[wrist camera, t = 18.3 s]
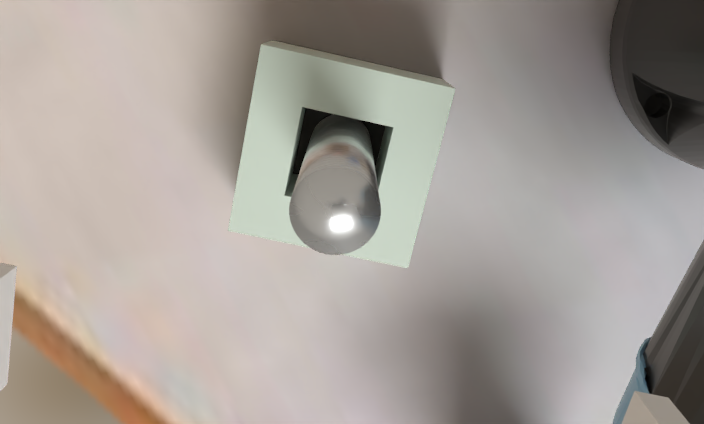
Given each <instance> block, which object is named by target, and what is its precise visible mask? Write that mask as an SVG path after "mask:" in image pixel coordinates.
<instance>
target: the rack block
mask: <svg viewBox="0 0 704 424" xmlns="http://www.w3.org/2000/svg"><path fill="white" fill-rule="evenodd" d="M455 89H456V88H454V87H453V86H451V85H450V84H449V83H447V82H446V81H445V80H443V79H440V78H436V77H432V76H427V75H423V74H418V73H414V72H410V71H405V70H401V69H397V68H392V67H388V66H383V65H379V64H375V63H370V62H366V61H362V60H357V59H353V58H348V57H344V56H340V55H335V54H331V53H327V52H322V51H318V50H313V49H309V48H305V47H300V46H296V45H292V44H287V43H283V42H278V41H274V40H272V41H269V42H266V43H263V44H261V47H260V53H259V58H258V64H257V69H256V75H255V81H254V86H253V92H252V98H251V103H250V109H249V115H248V120H247V126H246V132H245V137H244V143H243V149H242V154H241V160H240V165H239V171H238V177H237V182H236V188H235V194H234V199H233V205H232V211H231V216H230V222H229V228H228V231H231V232H236V233H241V234H246V235H250V236H255V237H260V238H265V239H269V240H274V241H279V242H284V243H289V244H293V245H298V246H303V247H308V246H307V245H306V244H304V243H303V242H302V241H301V240H300V238H299V237H298V236H297V235H296V233H295V231H294V229H293V227H292V225H291V221H290V216H289V205H290V200H291V196H292V193H293V190H294V187H295V184H296V181H297V178H298V175H297V174H293V169H294V164H295V159H296V154H297V149H298V144H299V139H300V134H301V129H302V124H303V120H304V115H305V110H306V108H309V109H313V110H318V111H322V112H327V113H331V114H336V115H340V116H345V117H349V118H354V119H358V120H363V121H367V122H372V123H376V124H381V125H385V130H384V134H383V138H382V143H381V147H380V151H379V155H378V159H377V163H376V168H375V172H376V178H377V185H378V192H379V198H380V205H381V217H380V222H379V225H378V228H377V230H376V232H375V234H374V235H373V237H372V238H371V239H370V240H369V241H368V242H367V243H366V244H365V245H364V246H362V247H361V248H359V249H357V250H355V251H353V252H350V253H347V254H341V255H346V256H351V257H356V258H360V259H365V260H370V261H375V262H379V263H384V264H389V265H394V266H399V267H403V268H408V266H409V262H410V259H411V255H412V251H413V247H414V244H415V240H416V236H417V232H418V229H419V225H420V221H421V217H422V213H423V210H424V206H425V202H426V198H427V195H428V191H429V187H430V183H431V180H432V176H433V172H434V168H435V165H436V161H437V157H438V153H439V149H440V146H441V142H442V138H443V134H444V131H445V127H446V123H447V119H448V116H449V112H450V108H451V104H452V101H453V97H454V93H455ZM308 248H310V247H308Z"/></svg>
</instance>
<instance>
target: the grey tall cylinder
mask: <svg viewBox="0 0 704 424" xmlns="http://www.w3.org/2000/svg"><path fill="white" fill-rule="evenodd" d="M289 216H290V221H291V225H292V227H293V229H294V231H295V233H296V235H297V236H298V237H299V238H300V240H301V241H302V242H303V243H304V244H306V245H307V246H308V247H310V248H312V249H313V250H315V251H318V252H320V253H324V254H330V255H341V254H347V253H350V252H353V251H355V250H357V249H359V248H361V247H362V246H364V245H365V244H366V243H367V242H368V241H369V240H370V239H371V238H372V237H373V235H374V234H375V232H376V230H377V228H378V225H379V222H380V217H381V205H380V198H379V192H378V185H377V178H376V172H375V165H374V158H373V152H372V145H371V138H370V134H369V132H368V130H367V128H366V127H365V125H364V124H363V123H362V122H361V121H360V120H358V119H354V118H349V117H345V116H340V115H336V114H333V115H330V116H328V117H326V118H324V119H323V120H321V121H320V122H319V123H318V124H317V126H316V127H315V129H314V130H313V133H312V136H311V139H310V142H309V145H308V148H307V151H306V154H305V157H304V160H303V163H302V166H301V169H300V172H299V175H298V178H297V181H296V184H295V187H294V190H293V193H292V196H291V200H290V205H289Z"/></svg>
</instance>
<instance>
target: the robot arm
mask: <svg viewBox="0 0 704 424" xmlns="http://www.w3.org/2000/svg"><path fill="white" fill-rule="evenodd" d="M610 64H611V72H612V78H613V82H614V87H615V90H616V93H617V96H618V98H619V101H620V103H621V105H622V107H623V109H624V111H625V113H626V115H627V116H628V118H629V119H630V121H631V122H632V124H633V125H634V126H635V128H636V129H637V130H638V131H639V132H640V133H641V134H642V135H643V136H644V137H645V138H646V139H647V140H648V141H649V142H651V143H652V144H653V145H654V146H656V147H657V148H659V149H660V150H662V151H663V152H665V153H667V154H669V155H671V156H673V157H675V158H677V159H680V160H682V161H684V162H686V163H689V164H691V165H693V166H696V167H699V168H702V169H704V0H619V3H618V6H617V9H616V13H615V16H614V21H613V25H612V32H611V40H610ZM16 270H17V266H14V265H9V264H4V263H0V391H1V390H2V389H3V388H4V386H6V385H7V382H8V370H9V358H10V344H11V333H12V320H13V308H14V295H15V283H16ZM613 424H704V240H703V242H702V244H701V246H700V248H699V250H698V252H697V253H696V255H695V257H694V259H693V261H692V263H691V265H690V266H689V268H688V270H687V272H686V274H685V276H684V278H683V280H682V281H681V283H680V285H679V287H678V289H677V291H676V293H675V294H674V296H673V298H672V300H671V302H670V304H669V306H668V307H667V309H666V311H665V313H664V315H663V317H662V319H661V321H660V322H659V324H658V326H657V328H656V330H655V332H654V334H653V335H652V337H651V338H647V339H645V341H644V342H643V344H642V345H641V347H640V349H639V351H638V354H637V357H636V369H635V371H634V373H633V375H632V377H631V380H630V382H629V384H628V386H627V388H626V391H625V393H624V395H623V397H622V399H621V401H620V404H619V406H618V408H617V410H616V413H615V416H614V420H613Z"/></svg>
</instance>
